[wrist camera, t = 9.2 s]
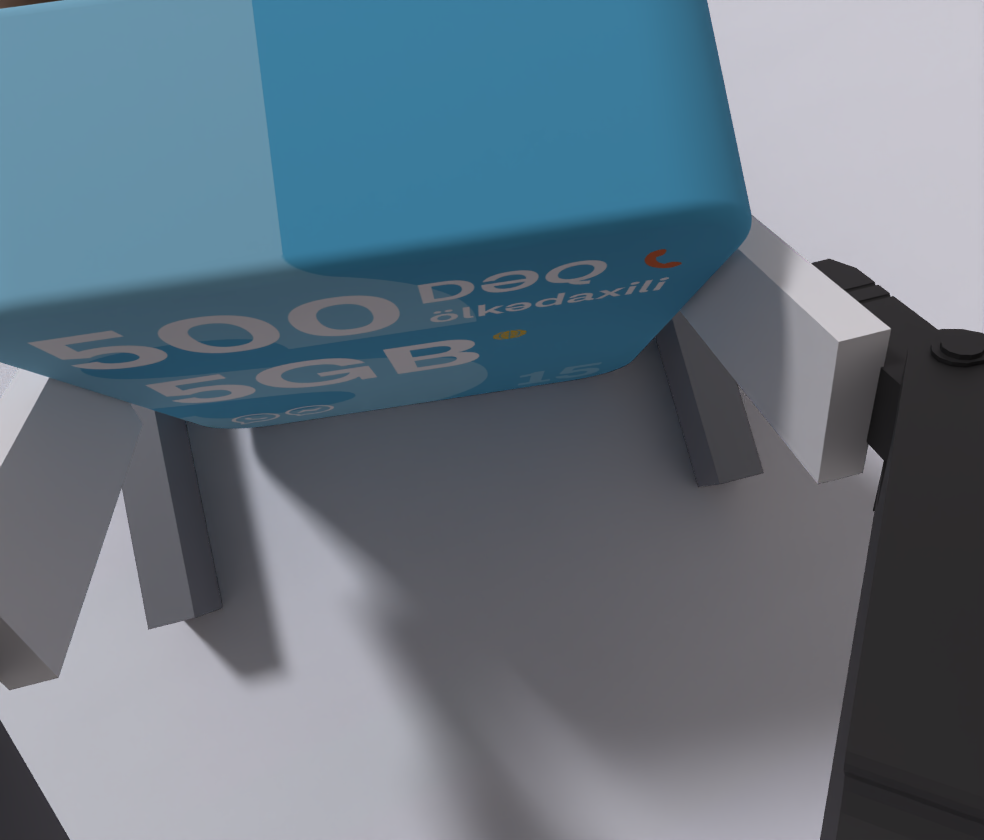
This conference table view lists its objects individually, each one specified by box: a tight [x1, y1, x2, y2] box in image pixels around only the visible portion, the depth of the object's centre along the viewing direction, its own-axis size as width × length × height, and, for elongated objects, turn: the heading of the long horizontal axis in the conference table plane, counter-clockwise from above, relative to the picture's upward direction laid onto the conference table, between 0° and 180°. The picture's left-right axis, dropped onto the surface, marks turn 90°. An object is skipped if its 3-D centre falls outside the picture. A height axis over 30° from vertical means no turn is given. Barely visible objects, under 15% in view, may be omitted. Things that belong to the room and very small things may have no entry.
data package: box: [0, 0, 752, 429], centre depth 16 cm, size 12×4×12 cm, turn 99°
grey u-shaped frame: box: [122, 311, 763, 630], centre depth 21 cm, size 16×17×2 cm
